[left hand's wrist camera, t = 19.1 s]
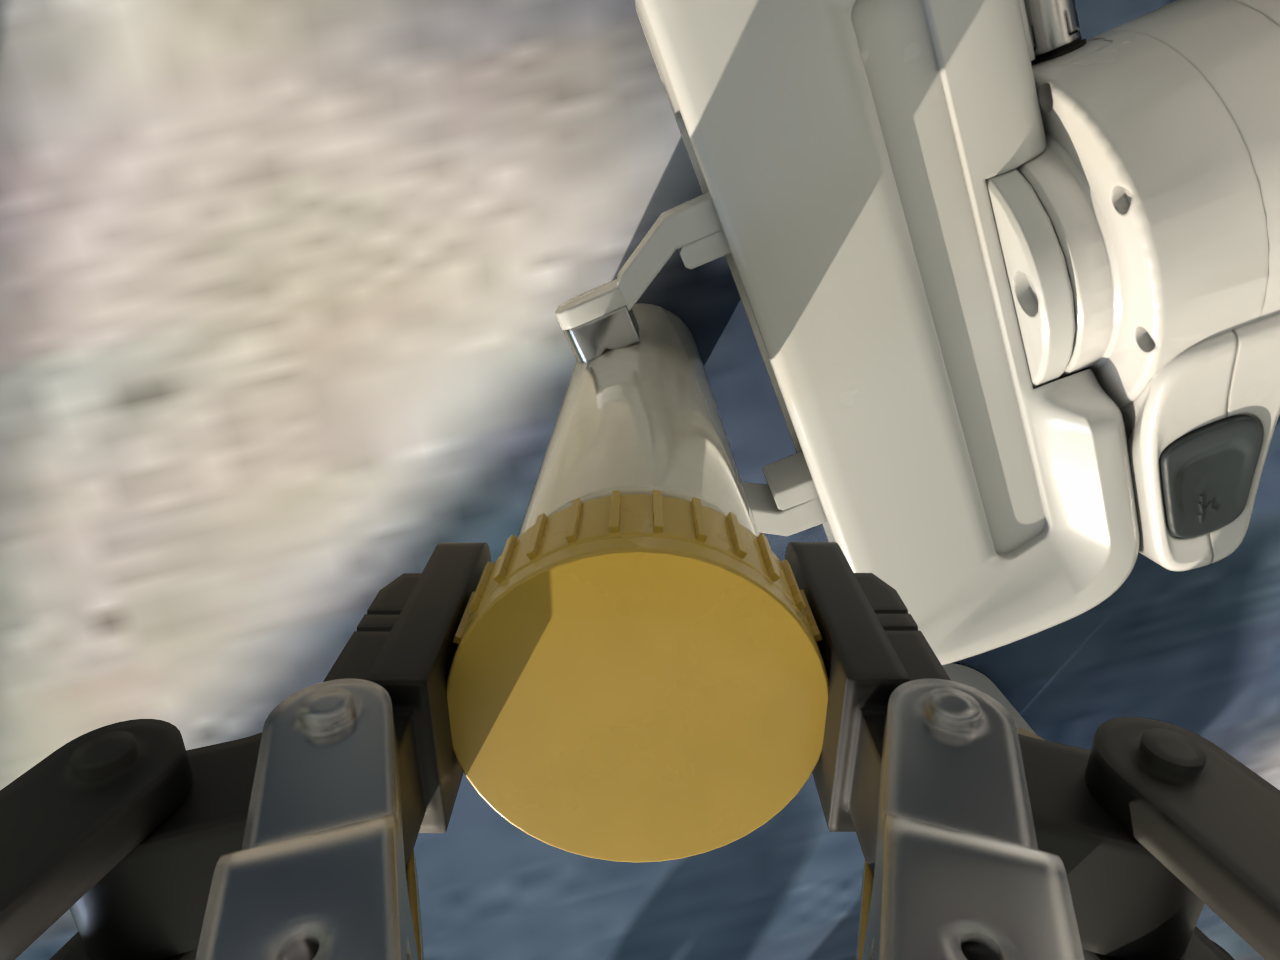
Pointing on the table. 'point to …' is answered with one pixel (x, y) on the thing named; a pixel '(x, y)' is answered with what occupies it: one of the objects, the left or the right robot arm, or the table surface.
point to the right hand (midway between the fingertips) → (610, 428)
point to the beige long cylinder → (641, 428)
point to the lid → (637, 680)
